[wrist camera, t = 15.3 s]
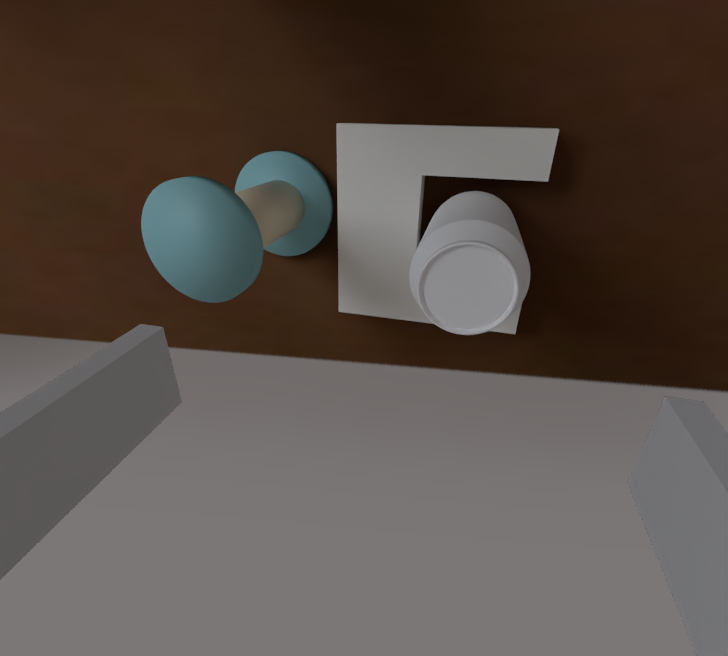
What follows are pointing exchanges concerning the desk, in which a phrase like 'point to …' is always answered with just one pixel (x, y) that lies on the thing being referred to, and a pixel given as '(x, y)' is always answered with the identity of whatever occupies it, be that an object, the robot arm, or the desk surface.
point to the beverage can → (470, 265)
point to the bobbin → (235, 224)
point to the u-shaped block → (413, 200)
